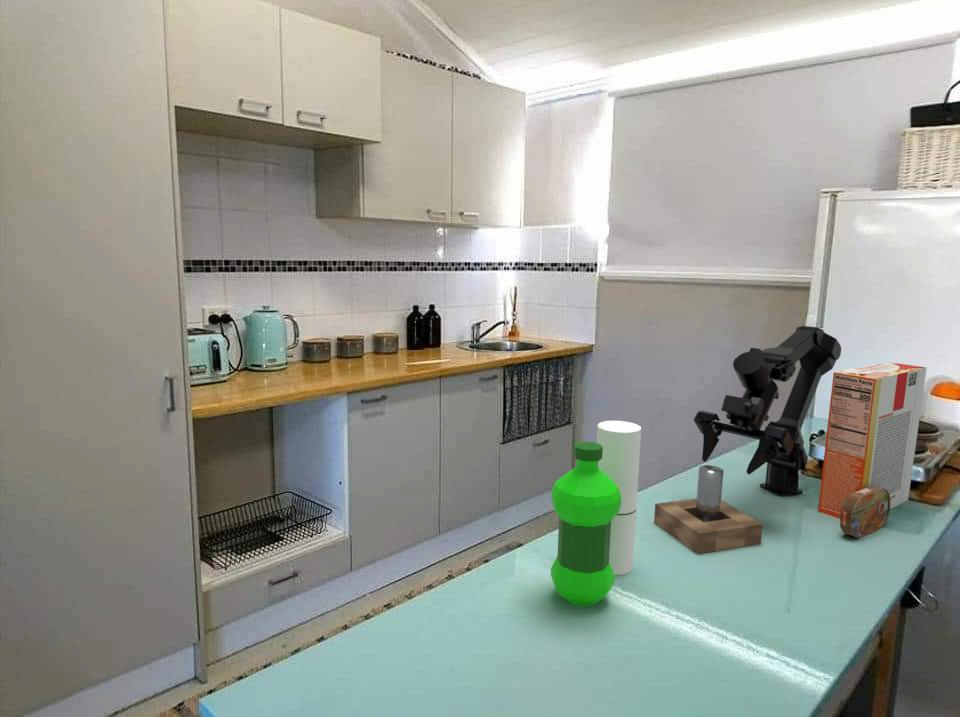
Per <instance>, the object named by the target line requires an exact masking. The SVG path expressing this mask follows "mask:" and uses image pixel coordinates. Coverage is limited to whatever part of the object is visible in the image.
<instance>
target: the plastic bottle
mask: <svg viewBox="0 0 960 717" xmlns="http://www.w3.org/2000/svg"><path fill="white" fill-rule="evenodd" d="M602 452H603V447H602V446H601V444H598V443H597V442H595V441H594V442H593V441H580V442H578V441H577V442H576V443H574V444H573V457H574V459H575V460H576V466H575V467H573V468H572V469H570V470H569V471H567V472H566V473H565V474H564V475H562V476H561V477H559V479H557V480H556V481H555V483H554V484H553V486H552V489H551V502H552V508H553V509H554V511H555V513H556V515H557V516H558V537H557V538H558V539H557V556H556V557H555V559H554V561H553V563H552V565H551V568H550V577H551V580H552V582H553V585H554V588H555V590H556V592H557V593H558V595H560V596H561V597H562V598H563V599H565V601H566V602H568V603H569V604H571V605H573V606H577V607H582V608H583V607H584V608H586V607H587V608H588V607H591V606H595V605H596V604H597V603H598V602H601V601H602V600H603V599H605V598H606V597H607V595H608V594H609V592H610V591H611V590H612V588H613V586H614V584H615V575H614V573H613V570H612V568H611V566H610V564H609V551H610V532H611V520H612V519H613V518H614V517H615V516H616V515H617V514H618V513H619V509H620V506H621V495H620V492H619V489H618V487H617V486H616V485H615V483H614V482H613V481H612V480H611V479H610V478H609V477H608V476H607V475H606V474H605V473H604V472H603V471H602V470H600V469H599V468H598V461H599V460H601V459H602Z"/></svg>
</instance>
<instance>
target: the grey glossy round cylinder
mask: <svg viewBox="0 0 960 717" xmlns="http://www.w3.org/2000/svg"><path fill="white" fill-rule="evenodd" d="M697 480H698V481H697V490H696V498H697V501H696V513H695V517H696V518H698V519H699V520H701V521H702V522H710V521H717V520H719V517H720V506H721V501H722V492H723V484H724V483H723V481H724V469H723V468H721V467H719V466H716V465H709V464H707V465H705V464H704V465H700V466H699V468H698V478H697Z"/></svg>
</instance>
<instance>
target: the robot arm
mask: <svg viewBox="0 0 960 717" xmlns="http://www.w3.org/2000/svg"><path fill="white" fill-rule="evenodd" d="M841 354H842V345H841V344H840V342H839V341H838V340H837V338H835V337H834V336H832V335H830V334H828V333H826V332H825V330H823V328H820V327H818V326H809V325H801V326H797V327H796V329H795V331H794V332H793V333H792V334H791V335H790V336H789V337H787V338H786V339H785V340H784V341H782V343H780V344H779V345H778V346H776V347H767V348H764V349H761V348H756V347H750V348H749V351H746V352H743V353H741V354H739V355H738V356H737V357H735V358H734V360H733V362H732V366H733V369H734V371H735V374H736V376H737V378H738V380H739V382H740V384H741V386H742V387H743V388H744V389H745V391H744V392H743V394H742V396H734V395H729V394H726V395H724V398H723V402H722V406H721V409H720V411H722V412H725V413H726V415H725V417H726V419H727V420H729V422H726V421H722V420H721V419H720V418H719V416H718V414H717V413H715V412H710V411H706V410H699V411H697V412H696V414H695V415H694V418H693V421H694V423H695V425H696V427H697V428H698V430H699V432H700V434H702V435H703V436H702V437H703V440H702V441H703V444H702V445H703V446H702V454H701V455H702V456H701V458H702V459H701V460H702V462H703V463H706V462H707V461H708V459H709V458H710V457H711V455H712V454H713V451H714V450H715V448H716V446H717V445H718V443H719V441H720V439H719V436H721V435H722V433H723V432H724V433H729V434H732V435H737V436H740V437H741V436H742V437H746V438H750V439H754V440H758V446H757V448H756V450H755V452H754V454H753V456H752V457H751V459H750V462H749V463H748V466H747V468H746V474H747V475H751V474H752V473H754V472H755V471H757V470H758V469H760V467H762V466H763V465H765V464H766V463H767V464H766V471H765V472H766V473H765V474H766V475H765V482H764V483H759V487H761V488H762V489H764V490H766V491H768V492H770V493H773V494H775V495H777V496H781V497H782V496H790V495H797V494H802V493H803V491H802V490H801V489H799V482H800V481H799V480H800V475H799V471H805V470H807V464H808V460H809V457H808V454H807V452H806V449H805V447H804V444H805V441H804V438H803V434H802V428H803V425H804V422H805V419H806V417H807V414H808V411H809V409H810V406H811V404H812V402H813V400H814V399H813V398H814V396H815V394H816V391H817V389H818V386H819V383H820V380H821V378H822V376H824V375H825V374H827V373H828V372H830V371H831V370H832V369H834V366H835V364H836V362H837V361H838V360H839V359H840V357H841ZM798 361H799V365H800V368H799V371H798V373H797V375H796V377H795V380H794V383H793V386H792V387H791V390H790V393H789V395H788V398H787V400H786V402H785V406H784V408H783V411H782V413H781V416H780V418H779V419H778V420H777V421H770V422H768V420H769V419H770V417H769V415H768V414H769V411H770V409H771V408H772V405H773V403H774V400H775V399H776V400H778V399H779V397H780V394H779V387H778V385H777V383H776V382H775V381H777V382H783V383H786V382H788V381H789V380H790V379H791V378H792V377H793V376H794V373H795V372H796V363H797V362H798ZM764 422H768V424H767V426H765V429H764V430H762V429H761V428H762V427H763V424H764Z"/></svg>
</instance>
